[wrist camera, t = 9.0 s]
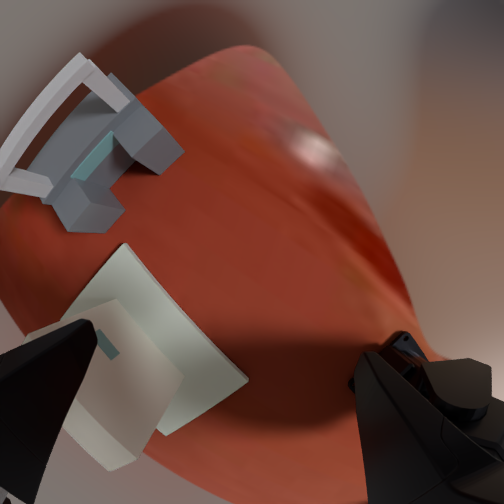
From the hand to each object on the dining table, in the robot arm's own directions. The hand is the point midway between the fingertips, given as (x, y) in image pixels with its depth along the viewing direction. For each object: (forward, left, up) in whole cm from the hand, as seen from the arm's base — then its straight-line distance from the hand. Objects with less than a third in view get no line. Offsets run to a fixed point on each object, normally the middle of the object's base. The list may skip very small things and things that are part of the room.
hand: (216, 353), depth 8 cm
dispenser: (+13, +1, -12) cm, 18 cm away
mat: (+1, +9, -12) cm, 15 cm away
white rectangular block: (+2, +9, -11) cm, 15 cm away
